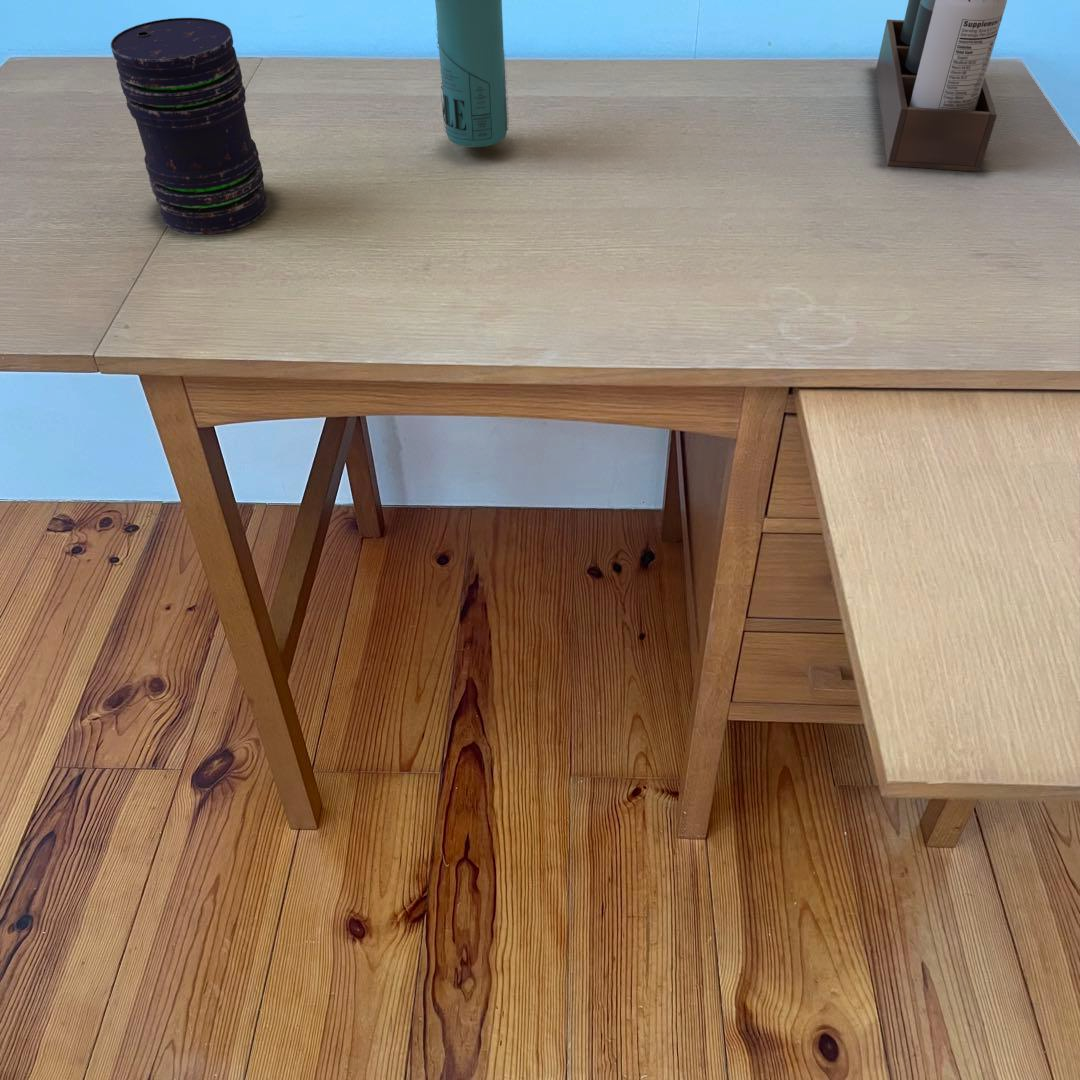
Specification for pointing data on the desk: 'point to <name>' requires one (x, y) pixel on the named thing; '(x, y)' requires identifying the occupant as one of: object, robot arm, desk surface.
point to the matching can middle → (919, 37)
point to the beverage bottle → (472, 71)
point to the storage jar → (192, 123)
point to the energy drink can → (957, 53)
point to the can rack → (927, 118)
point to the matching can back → (909, 22)
